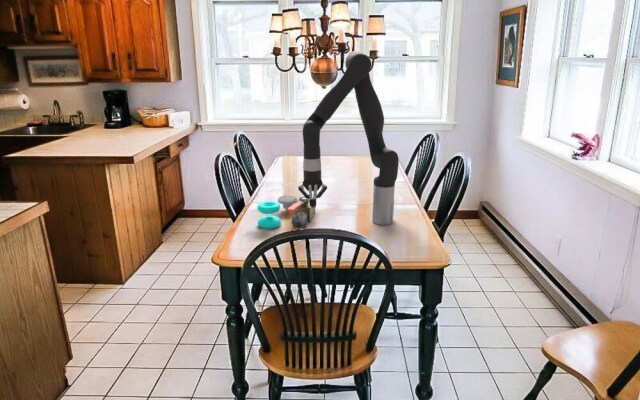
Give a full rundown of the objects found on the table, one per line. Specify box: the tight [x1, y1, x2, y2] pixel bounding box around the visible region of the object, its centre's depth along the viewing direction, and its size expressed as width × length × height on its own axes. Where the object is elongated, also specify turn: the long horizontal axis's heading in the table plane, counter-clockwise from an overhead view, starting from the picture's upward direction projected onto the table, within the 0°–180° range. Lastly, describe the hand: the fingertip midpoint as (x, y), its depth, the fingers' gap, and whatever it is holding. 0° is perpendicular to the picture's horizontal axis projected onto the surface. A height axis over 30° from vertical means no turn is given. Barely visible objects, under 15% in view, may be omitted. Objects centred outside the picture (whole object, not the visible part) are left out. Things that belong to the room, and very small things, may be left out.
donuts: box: [256, 200, 282, 230], centre depth 205 cm, size 10×10×10 cm
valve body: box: [291, 200, 317, 229], centre depth 212 cm, size 7×22×8 cm, turn 168°
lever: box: [287, 196, 309, 215], centre depth 205 cm, size 17×4×2 cm, turn 159°
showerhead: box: [277, 194, 299, 213], centre depth 223 cm, size 9×7×10 cm
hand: (313, 206), depth 203 cm, fingers closed
